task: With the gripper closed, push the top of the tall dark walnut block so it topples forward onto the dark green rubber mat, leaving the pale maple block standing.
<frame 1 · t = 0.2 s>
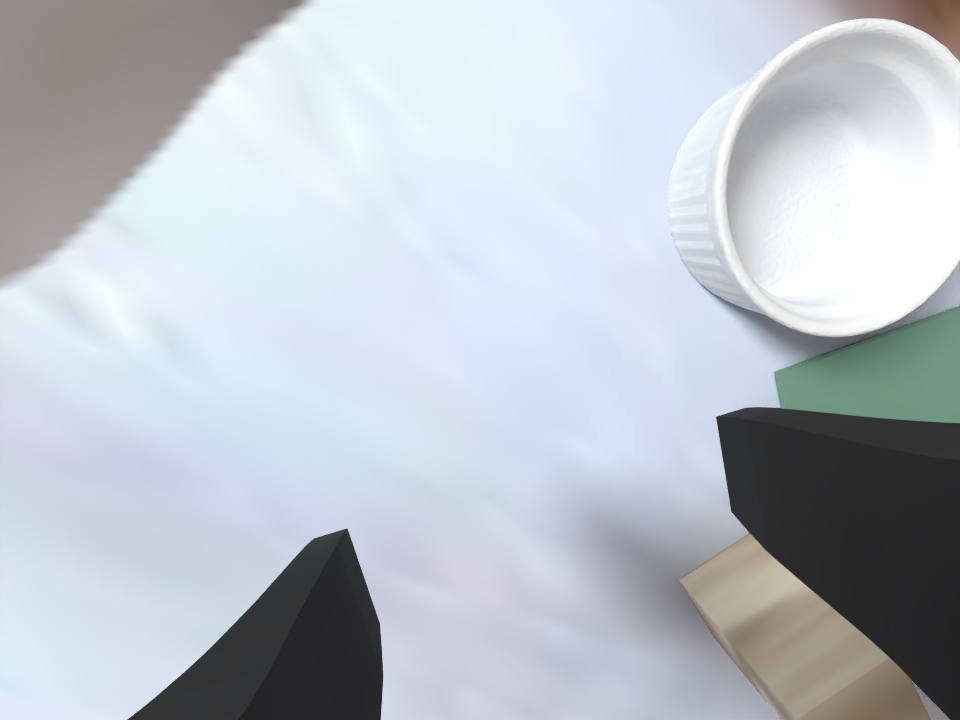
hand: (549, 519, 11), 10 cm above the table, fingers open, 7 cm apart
mat: (903, 433, 23), on the table
ramekin: (762, 197, 21), on the table
maple block: (732, 586, 24), on the table
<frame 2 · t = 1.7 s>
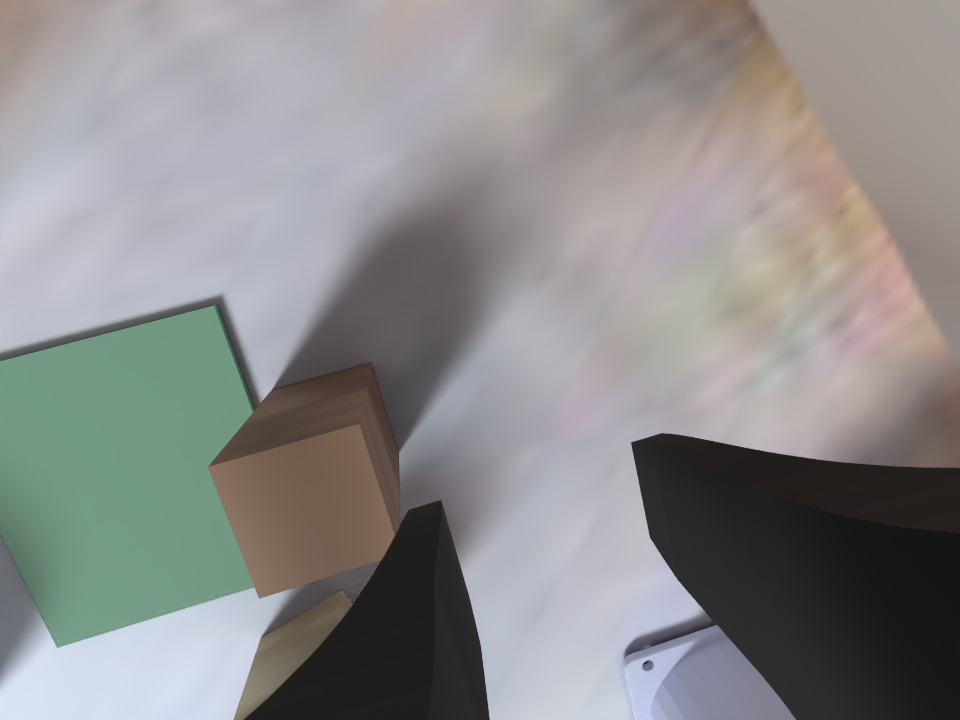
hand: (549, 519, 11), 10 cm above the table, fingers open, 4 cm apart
walnut block: (337, 422, 20), on the table
mat: (136, 479, 19), on the table
maple block: (327, 646, 22), on the table
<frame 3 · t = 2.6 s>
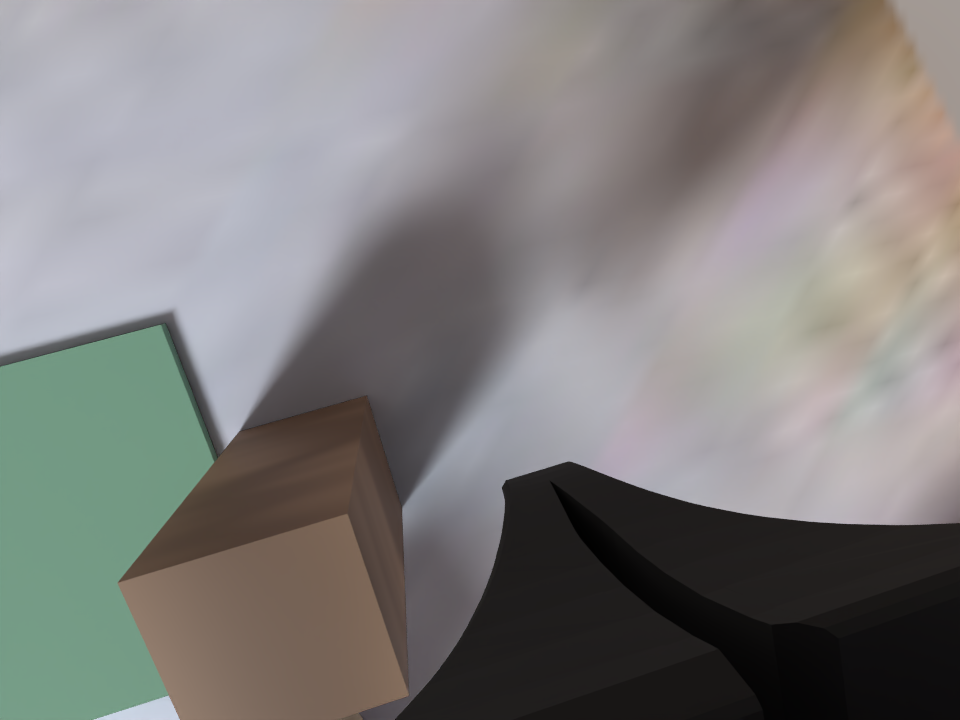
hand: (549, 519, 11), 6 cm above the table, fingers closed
walnut block: (323, 471, 16), on the table
mat: (64, 547, 15), on the table
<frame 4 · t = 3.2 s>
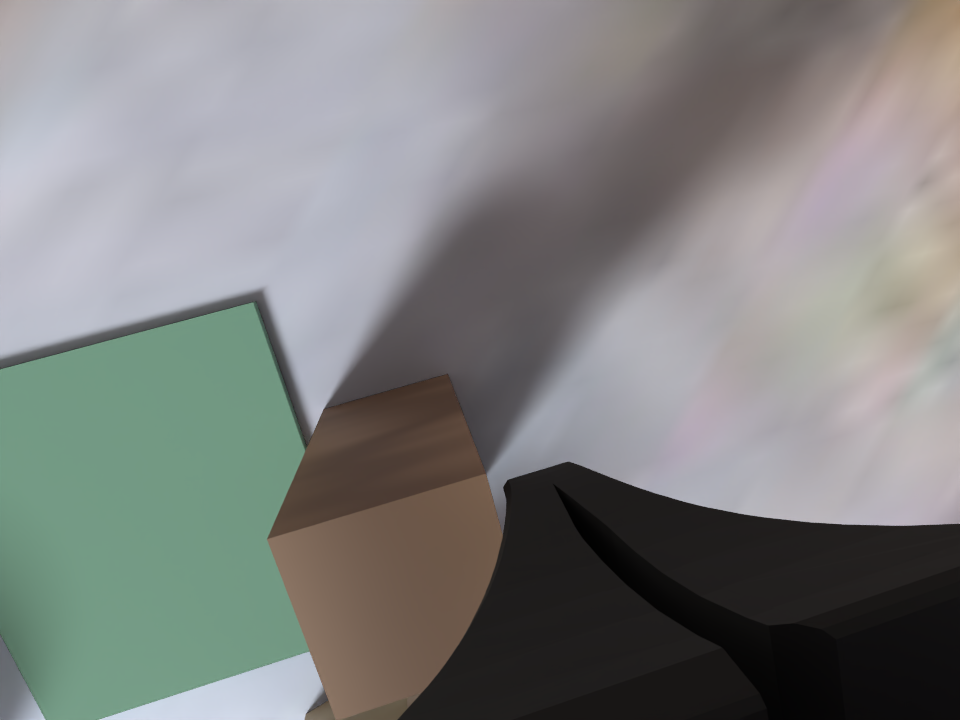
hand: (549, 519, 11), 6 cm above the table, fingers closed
walnut block: (403, 448, 16), on the table, touching gripper
mat: (152, 523, 15), on the table
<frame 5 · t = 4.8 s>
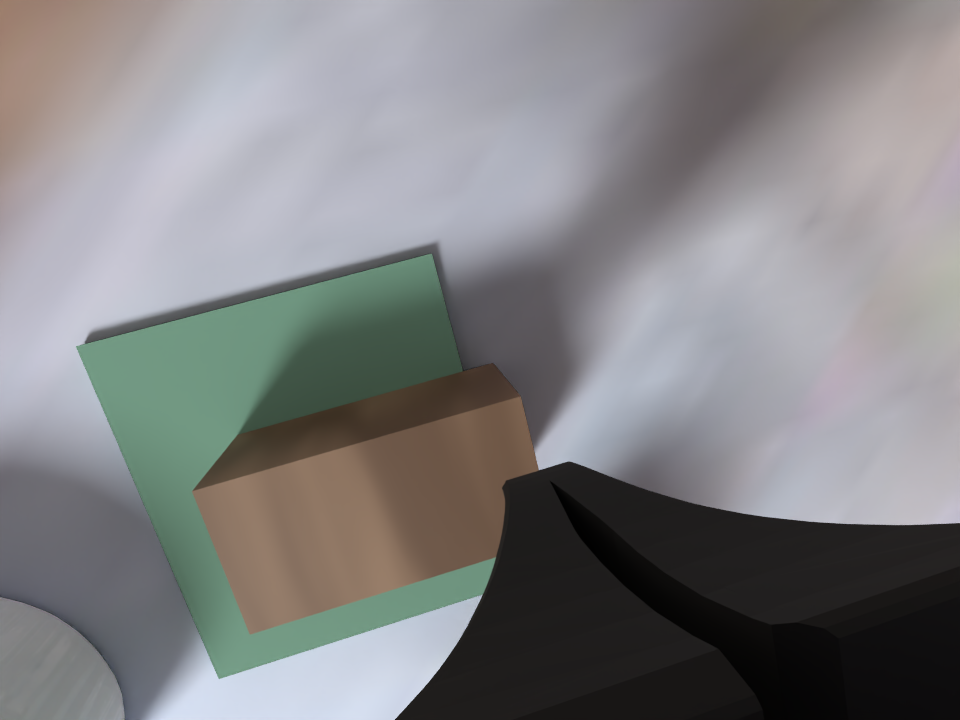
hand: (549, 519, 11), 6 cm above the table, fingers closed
walnut block: (521, 442, 14), point 2 cm above the table, tilted 90°, touching mat
mat: (321, 472, 16), on the table
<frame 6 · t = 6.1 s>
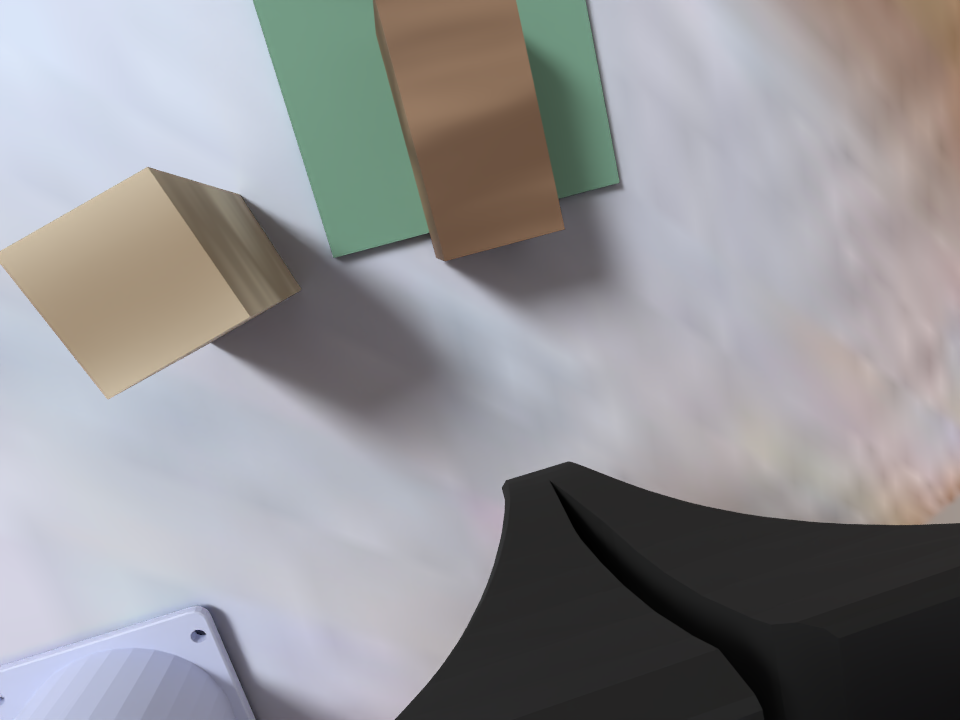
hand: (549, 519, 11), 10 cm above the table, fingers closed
walnut block: (494, 244, 18), point 2 cm above the table, tilted 90°, touching mat
mat: (443, 80, 18), on the table
maple block: (224, 270, 19), on the table
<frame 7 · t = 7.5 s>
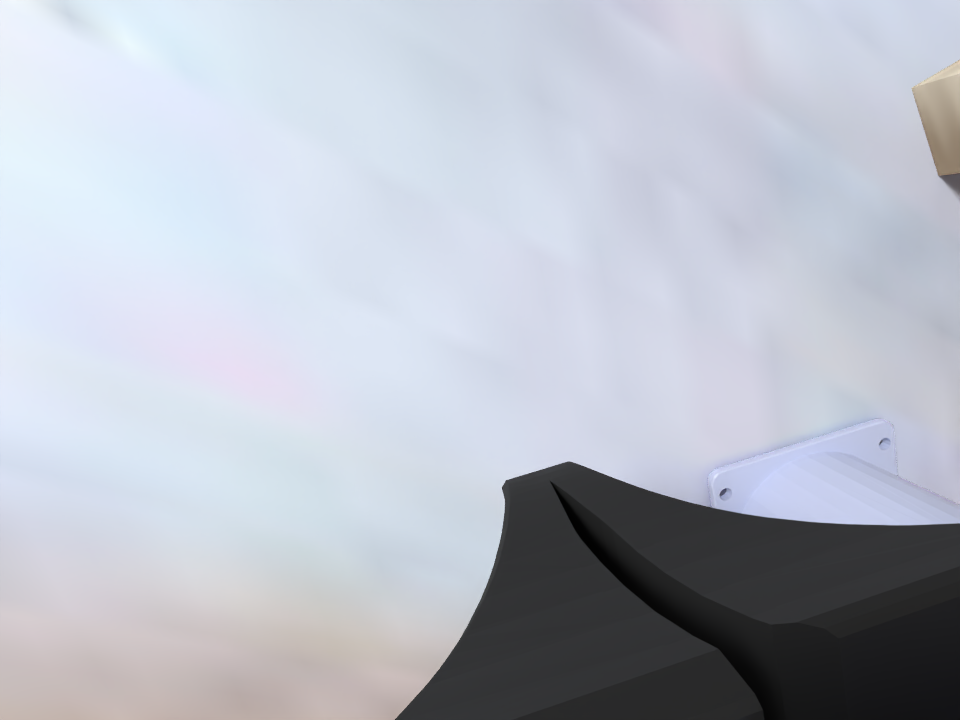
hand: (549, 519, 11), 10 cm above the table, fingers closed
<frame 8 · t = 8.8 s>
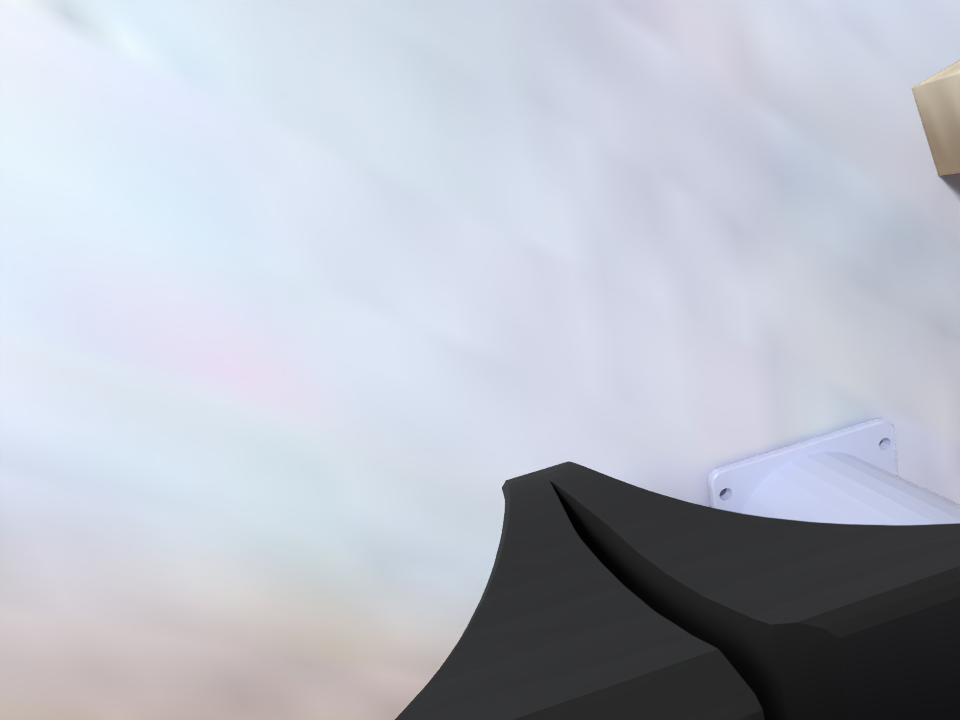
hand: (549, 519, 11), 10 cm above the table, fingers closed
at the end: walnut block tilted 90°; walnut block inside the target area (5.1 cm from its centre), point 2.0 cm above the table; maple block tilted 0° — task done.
